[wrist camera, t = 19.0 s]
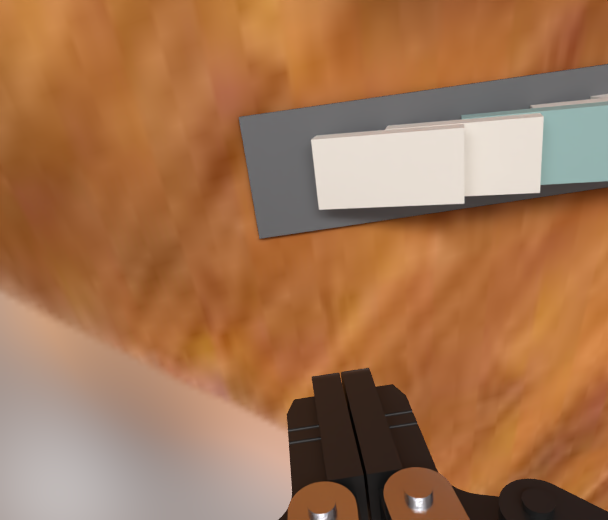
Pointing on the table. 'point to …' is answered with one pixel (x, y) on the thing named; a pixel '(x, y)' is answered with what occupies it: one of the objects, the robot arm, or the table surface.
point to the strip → (377, 116)
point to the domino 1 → (390, 167)
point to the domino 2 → (499, 153)
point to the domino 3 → (570, 141)
